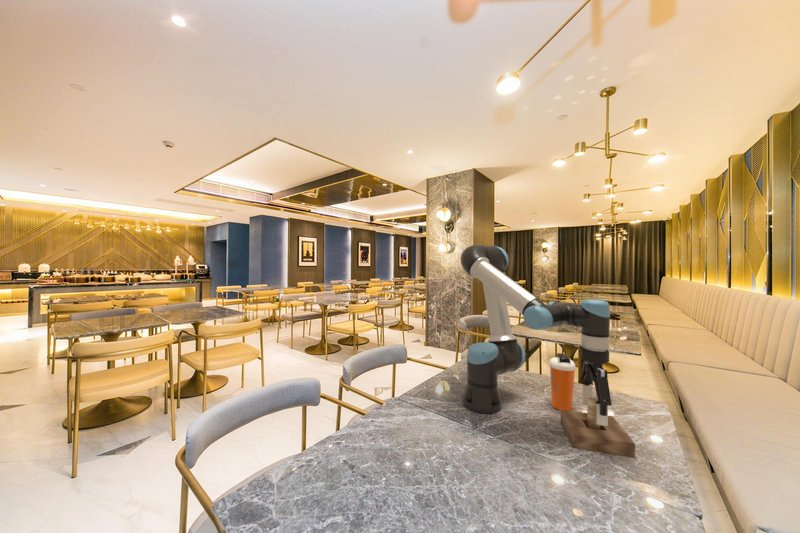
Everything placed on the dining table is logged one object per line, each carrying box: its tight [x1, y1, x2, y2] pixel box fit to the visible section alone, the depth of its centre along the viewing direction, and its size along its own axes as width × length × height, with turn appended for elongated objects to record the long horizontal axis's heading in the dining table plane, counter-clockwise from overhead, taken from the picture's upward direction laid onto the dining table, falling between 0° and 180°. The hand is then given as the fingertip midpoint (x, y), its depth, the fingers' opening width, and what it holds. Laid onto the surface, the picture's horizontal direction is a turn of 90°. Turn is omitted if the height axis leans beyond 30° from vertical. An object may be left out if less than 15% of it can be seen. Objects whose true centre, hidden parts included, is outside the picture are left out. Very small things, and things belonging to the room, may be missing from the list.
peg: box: [586, 397, 600, 430], centre depth 97 cm, size 4×4×12 cm
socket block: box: [560, 410, 636, 458], centre depth 97 cm, size 16×16×4 cm
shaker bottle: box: [549, 352, 576, 411], centre depth 117 cm, size 9×9×20 cm
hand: (594, 414), depth 96 cm, fingers open, 13 cm apart
